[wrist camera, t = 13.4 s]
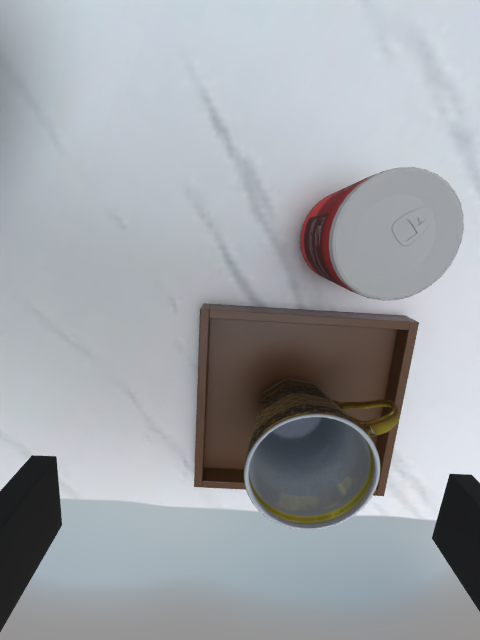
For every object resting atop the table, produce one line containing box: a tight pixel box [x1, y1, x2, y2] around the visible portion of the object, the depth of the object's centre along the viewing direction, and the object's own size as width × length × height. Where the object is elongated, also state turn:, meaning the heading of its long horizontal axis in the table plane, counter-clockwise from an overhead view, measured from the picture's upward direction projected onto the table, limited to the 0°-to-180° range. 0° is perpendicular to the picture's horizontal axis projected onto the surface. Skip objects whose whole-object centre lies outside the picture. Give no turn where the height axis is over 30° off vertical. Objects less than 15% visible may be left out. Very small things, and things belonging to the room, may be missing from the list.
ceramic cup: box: [244, 377, 400, 530], centre depth 29 cm, size 13×10×10 cm
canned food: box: [301, 167, 464, 300], centre depth 25 cm, size 8×8×11 cm
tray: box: [194, 304, 419, 496], centre depth 33 cm, size 20×19×2 cm
